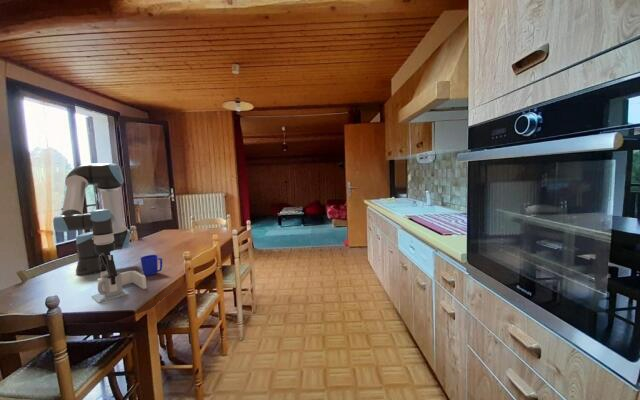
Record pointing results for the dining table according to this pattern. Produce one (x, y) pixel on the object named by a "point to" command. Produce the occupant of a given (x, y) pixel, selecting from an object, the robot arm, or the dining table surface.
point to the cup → (106, 286)
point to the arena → (132, 279)
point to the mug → (150, 264)
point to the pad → (102, 298)
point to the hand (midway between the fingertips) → (109, 287)
